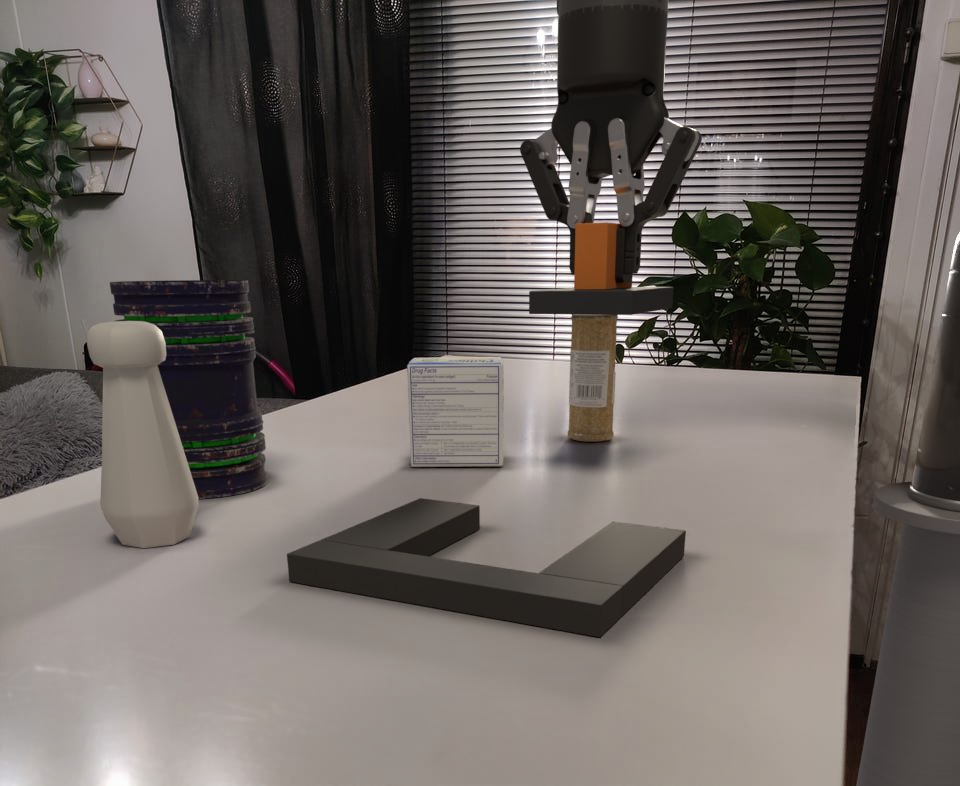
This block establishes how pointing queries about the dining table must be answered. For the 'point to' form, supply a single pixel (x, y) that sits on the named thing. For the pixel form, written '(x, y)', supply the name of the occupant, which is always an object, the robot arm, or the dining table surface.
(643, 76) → the robot arm
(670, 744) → the dining table surface
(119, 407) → the salt shaker
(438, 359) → the medicine box
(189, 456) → the storage jar
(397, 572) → the large u-shaped block
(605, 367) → the sprinkles bottle
